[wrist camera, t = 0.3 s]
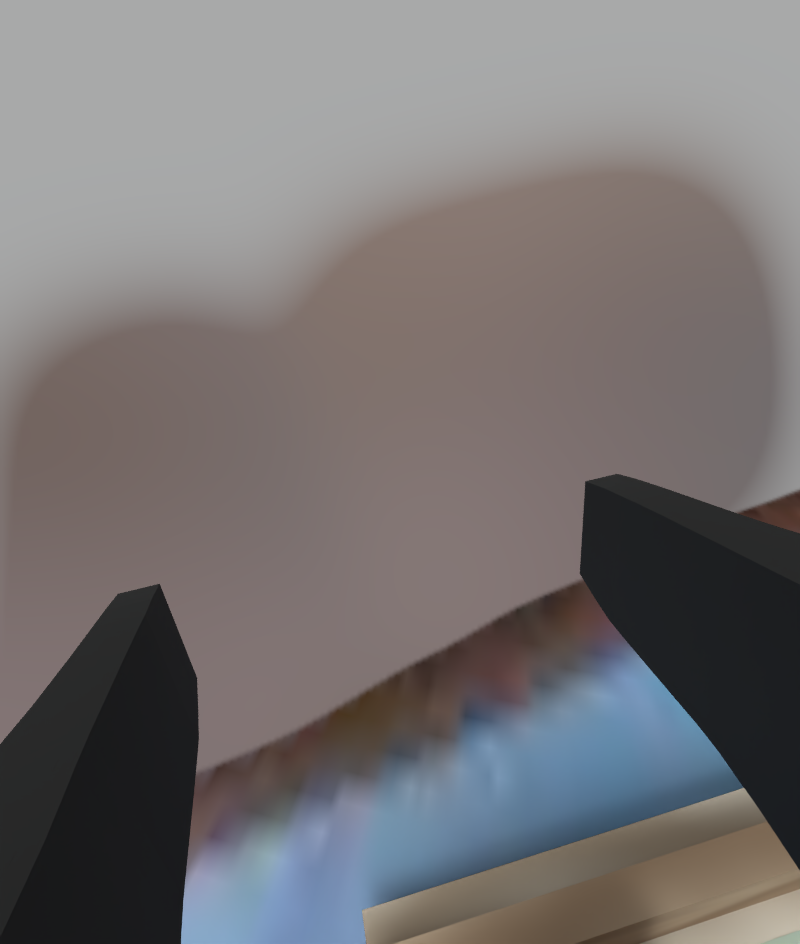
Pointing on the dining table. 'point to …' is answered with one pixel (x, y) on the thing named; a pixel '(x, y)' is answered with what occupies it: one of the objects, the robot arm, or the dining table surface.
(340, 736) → the dining table surface
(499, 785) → the dining table surface
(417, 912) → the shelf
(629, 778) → the dining table surface
